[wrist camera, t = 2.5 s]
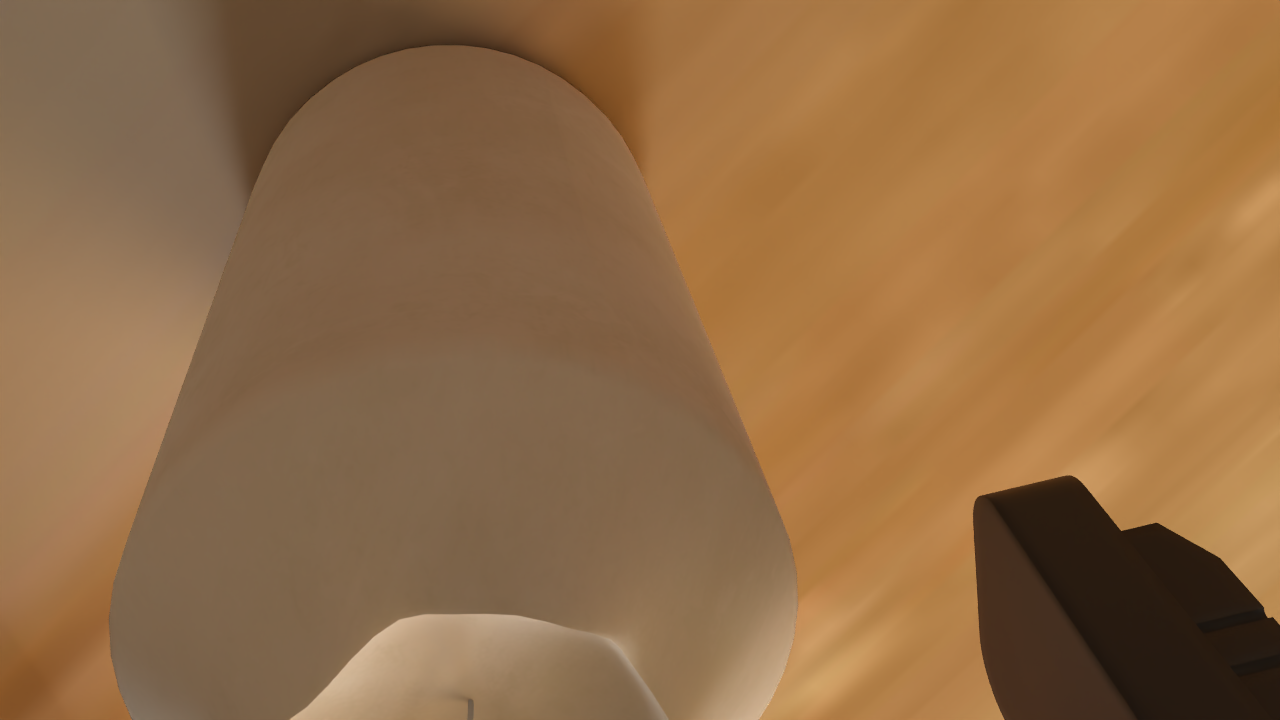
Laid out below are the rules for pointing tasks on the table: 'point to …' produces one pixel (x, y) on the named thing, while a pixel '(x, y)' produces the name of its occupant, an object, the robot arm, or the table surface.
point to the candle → (453, 436)
